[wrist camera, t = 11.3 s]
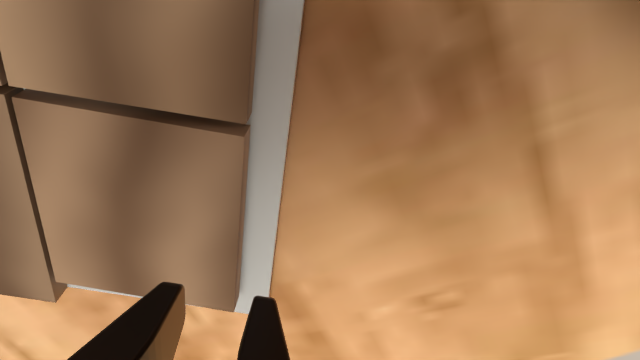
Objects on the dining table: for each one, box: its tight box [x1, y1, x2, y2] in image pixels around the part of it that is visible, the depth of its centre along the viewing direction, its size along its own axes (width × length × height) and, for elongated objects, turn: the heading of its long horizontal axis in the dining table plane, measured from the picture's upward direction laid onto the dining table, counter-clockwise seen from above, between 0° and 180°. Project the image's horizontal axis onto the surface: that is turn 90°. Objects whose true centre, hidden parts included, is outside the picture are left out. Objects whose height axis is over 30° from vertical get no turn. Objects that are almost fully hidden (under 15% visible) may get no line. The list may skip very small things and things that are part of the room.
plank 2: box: [12, 89, 251, 312], centre depth 23 cm, size 10×11×1 cm
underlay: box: [23, 0, 305, 314], centre depth 20 cm, size 12×26×1 cm, turn 172°
